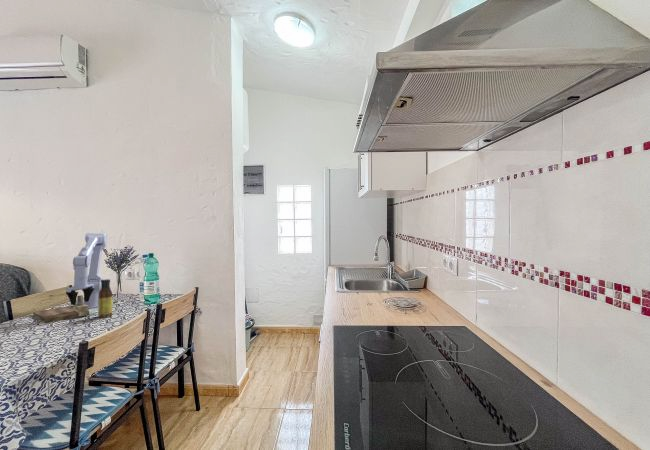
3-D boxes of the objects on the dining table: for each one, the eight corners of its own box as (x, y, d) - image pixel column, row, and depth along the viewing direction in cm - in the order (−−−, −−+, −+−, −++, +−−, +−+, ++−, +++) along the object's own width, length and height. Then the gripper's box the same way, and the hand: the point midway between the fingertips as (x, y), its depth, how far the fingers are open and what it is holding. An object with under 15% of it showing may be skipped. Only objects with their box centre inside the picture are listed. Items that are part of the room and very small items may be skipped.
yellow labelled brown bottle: (115, 315, 171) (116, 278, 171) (106, 318, 164) (107, 280, 165) (104, 314, 171) (105, 278, 171) (94, 317, 165) (96, 280, 165)
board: (74, 309, 180) (74, 305, 180) (89, 315, 169) (89, 311, 169) (33, 315, 165) (33, 311, 165) (46, 322, 154) (46, 318, 154)
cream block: (81, 312, 173) (82, 294, 173) (88, 314, 168) (88, 296, 168) (72, 313, 169) (73, 295, 169) (79, 316, 164) (80, 298, 164)
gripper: (86, 275, 177) (85, 299, 177) (61, 279, 163) (60, 305, 163) (97, 276, 176) (96, 300, 176) (73, 280, 162) (71, 306, 161)
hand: (80, 303), depth 169 cm, fingers open, 7 cm apart
